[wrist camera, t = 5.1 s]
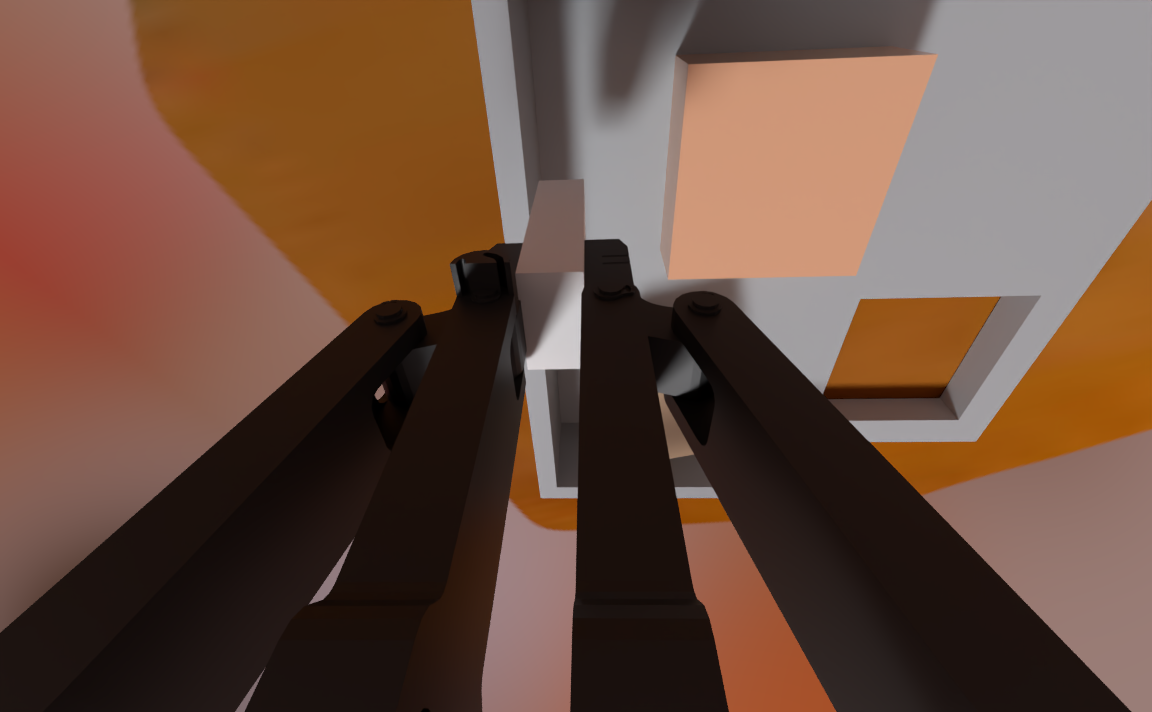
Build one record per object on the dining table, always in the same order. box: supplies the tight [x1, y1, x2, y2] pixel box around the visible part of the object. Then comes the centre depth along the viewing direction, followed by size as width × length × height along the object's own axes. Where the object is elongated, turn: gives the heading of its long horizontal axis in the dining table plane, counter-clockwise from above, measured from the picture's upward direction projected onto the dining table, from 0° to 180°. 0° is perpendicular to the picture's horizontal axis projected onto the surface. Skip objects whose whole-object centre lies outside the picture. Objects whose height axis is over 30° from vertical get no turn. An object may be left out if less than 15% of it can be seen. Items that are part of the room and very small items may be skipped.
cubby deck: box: [471, 0, 1152, 498], centre depth 22 cm, size 26×28×7 cm
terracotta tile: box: [660, 46, 938, 280], centre depth 19 cm, size 8×8×3 cm
